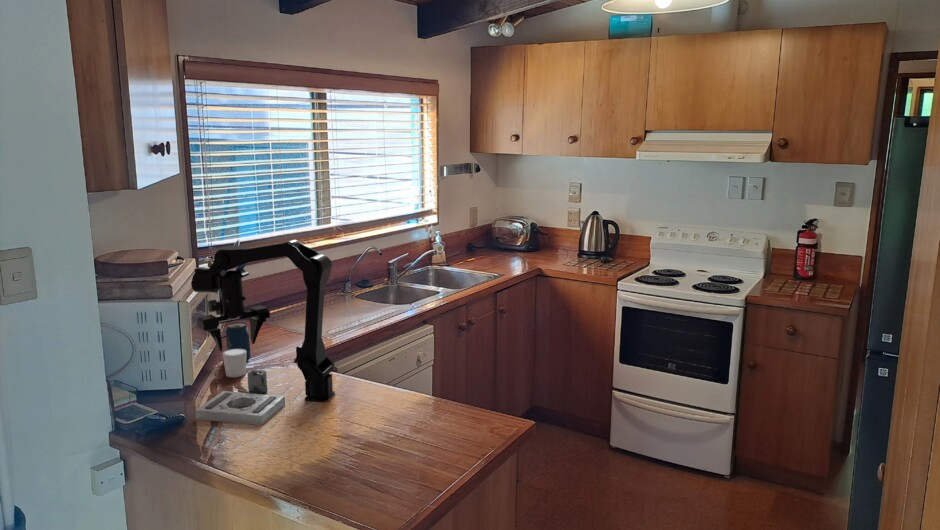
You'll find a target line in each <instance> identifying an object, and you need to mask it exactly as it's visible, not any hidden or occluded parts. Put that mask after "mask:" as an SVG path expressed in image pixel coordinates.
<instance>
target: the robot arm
mask: <svg viewBox="0 0 940 530" xmlns="http://www.w3.org/2000/svg"><path fill="white" fill-rule="evenodd" d="M284 257H287V258H288V259H289V260H290V261H291V263H293V265H294V266H295V267H296V268H297V269H298V270H300V271H301V273H302V279H303V283H304V285H305V288H306V301H305V304H306V305H305V321H304V323H305V324H304V337H303V338H304V340H303V341H302V342H301V343H299V344H298V345H297V346H296V347H295V353H296V356H295V359H294V361H295V362H296V365H297V368H298V369H299V370H300V371H301V373H302V375H303V378H304V380H305V381H304V386H305V387H304V389H305V390H304V391H305V397H304V400H305V401H311V402H313V401H314V402H325V403H326V402H328V401H329V400H330V399H331V398H332V397H333V396H335V394H336V391H333V388H334V387H333V374H332V372H333V371H334V369H335V363H334V362H333V361H332V360H331V359H330V358H329V357H328V356H327V353H326V351H327V350H326V346H325V344H324V341H323V337H322V334H323V320H324V303H325V289H326V286H327V284H328V281H329V278H330V275H331V271H332V266H333V265H332V261H331V258H329V257H328V256H327V255H326V254H321V253H319V252H318V251H316V250H315V249H313V248H311V247H309V246H306V245H304V244H303V243H302V242H301V241H299V240H297V239H291V240H288V241H282V242H276V243H270V244H263V245H257V246H243V245H230V246H228V247H225V248H222V249H219V250H217V251H216V252H215V253H214V260H213V261H212V263H211V265H210V266H209V267H207V268H205V267H202V266H201V267H196V268H195V269H194V274H193V275H192V277H191V278H192V279H191V282H190V284H191V288H192V290H193V292H195V293H218V292H219V291H220V295H219V301H217V299H212V300H208V301H207V308H208V311H209V313H214V312H215V315H217V316H215V315H213V314H208V315H207V314H206V315H202V316H198V318H197V319H196V326H197V328H199V329H201V330H203V331H206V332H207V333H209V334H210V336H211V337H212V338H213V341H214V342H215V345H216V347H217V349H218V351H219V352H223V340H222V329H221V328H219V326H220V324H225V323H229V322H234V321H236V322H237V321H240V320H244V319H248V321H249V324H250V329H249V333H250V342H251V343H250V344H252V345H255V343H256V340H257V337H258V334H259V332H260V330H261V328H262V326H263V324H264V322H267V319H270V318H271V311H270V309H269V308H268V307H266V306H264V305H255V306H250V307H249V308H248V311H247V310H245V301H246V296H245V295H244V289H243V288H244V287H243V278H246V277H248V276H249V275H250V273H249V272H248V271H247V270H245V269H244V268H243V267H240V266H242V265H245V264H247V263H252V262H258V261H264V260H272V259H277V258H284ZM236 267H239V268H237V270H235V269H234V270H231V269H233V268H236ZM225 271H226V272H225ZM223 272H225V273H223ZM218 315H219V316H218ZM330 373H331V374H330Z"/></svg>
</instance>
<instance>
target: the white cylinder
mask: <svg viewBox="0 0 940 530" xmlns="http://www.w3.org/2000/svg"><path fill="white" fill-rule="evenodd" d="M246 354H247V351H246V350H244V349H230V350H227V349H226V350H224V351H222V358H223V359H222V360H223V365H224V371H225V375H226V377H228V378H238V377H239V378H240V377H243V376H245V375H246V373H247V362H246Z"/></svg>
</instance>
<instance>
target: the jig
mask: <svg viewBox="0 0 940 530" xmlns="http://www.w3.org/2000/svg"><path fill="white" fill-rule="evenodd" d="M284 406H286V396H285V395H276V394H273V395H272V394H266V395H264V394H252V393H249V392H241V391H240V392H239V391H237V392H236V391H226V390H222V391H221V392H220V393H218V394H216V396H214V397H212V398H211V399H210V400H208V401H207V402H205V403H204V404H203V405H201V406H200V407H198V408H196V409H195V419H196V420H199V421H200V420H201V421H210V422H211V421H212V422H221V423H222V422H223V423H234V424H243V425H244V424H245V425H255V426H263V425H264V424H265V423H266V422H267V421H268V419H269V420H270V419H271V418H272V417H273V416H274V415H275V414H277V412H280V410H281V409H283V408H284Z"/></svg>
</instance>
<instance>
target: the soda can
mask: <svg viewBox="0 0 940 530" xmlns="http://www.w3.org/2000/svg"><path fill="white" fill-rule="evenodd" d="M225 338H226V339H225V341H226V351H227V350H230V349H244V350H246V351H247V354H246V363H248V361H250V358H251V343H250V342H251V338H250V329H249V327H248V324H247V322H244V321H243V322H240V321H238V322H237V321H236V322H231V323H229V324H227V328H226V329H225Z"/></svg>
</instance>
